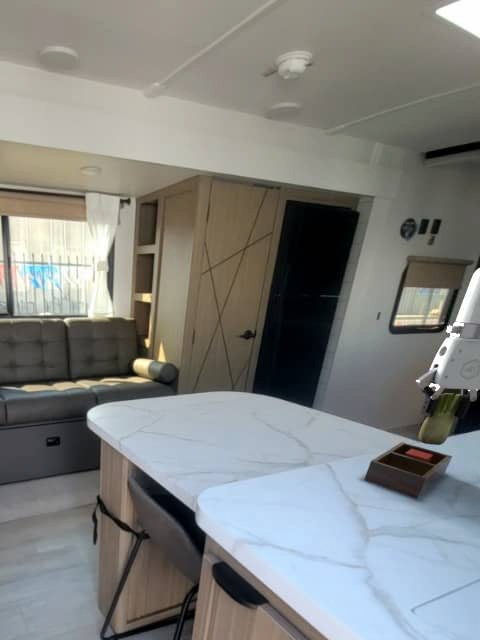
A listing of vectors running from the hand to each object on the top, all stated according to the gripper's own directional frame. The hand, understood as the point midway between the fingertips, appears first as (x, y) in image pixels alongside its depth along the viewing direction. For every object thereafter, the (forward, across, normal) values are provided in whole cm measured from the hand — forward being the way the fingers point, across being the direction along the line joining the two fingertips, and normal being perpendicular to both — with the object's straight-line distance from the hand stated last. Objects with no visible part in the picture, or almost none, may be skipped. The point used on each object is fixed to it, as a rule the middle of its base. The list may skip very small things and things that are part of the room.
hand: (441, 415), depth 91 cm
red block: (+11, -7, -7) cm, 14 cm away
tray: (+11, -10, -10) cm, 18 cm away
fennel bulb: (+7, 0, 0) cm, 7 cm away
